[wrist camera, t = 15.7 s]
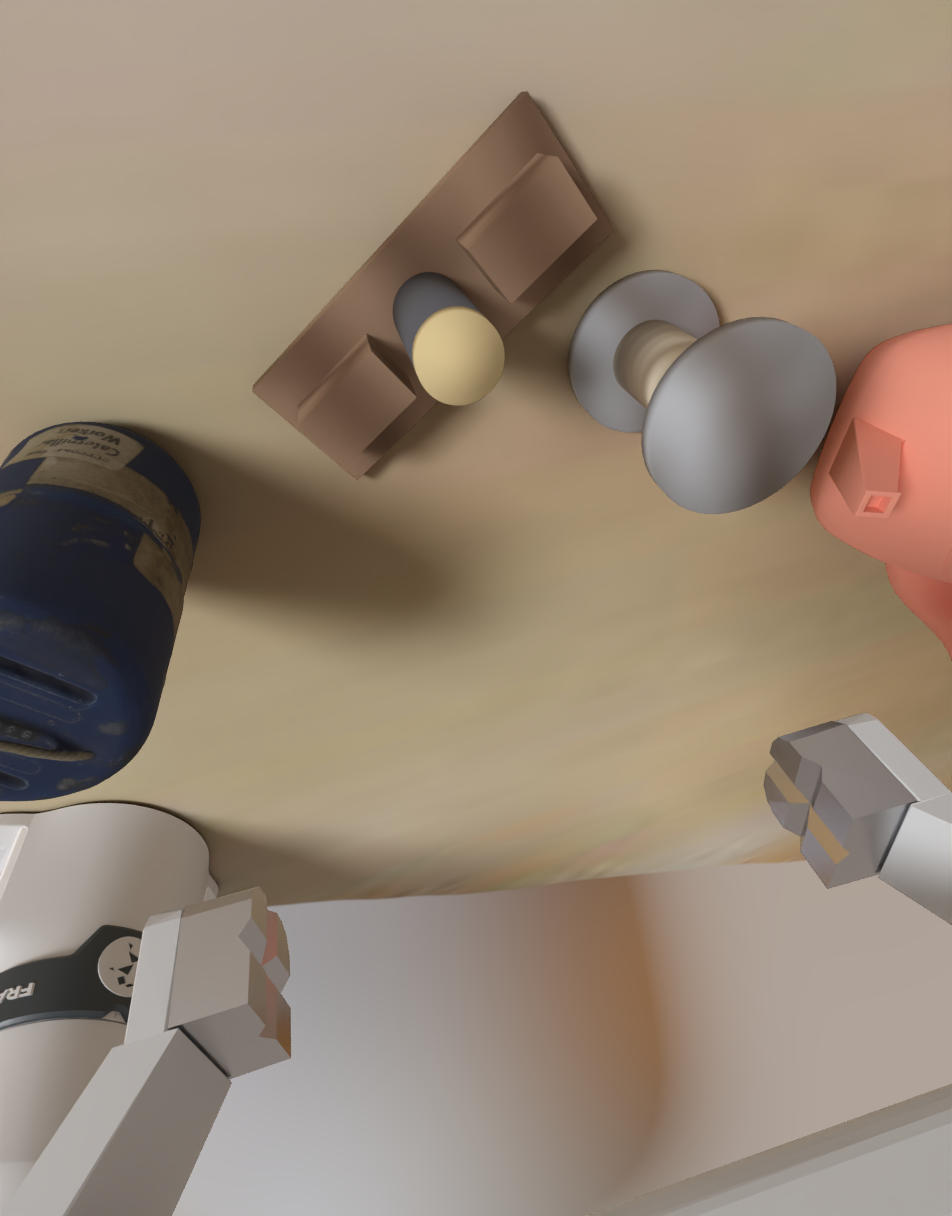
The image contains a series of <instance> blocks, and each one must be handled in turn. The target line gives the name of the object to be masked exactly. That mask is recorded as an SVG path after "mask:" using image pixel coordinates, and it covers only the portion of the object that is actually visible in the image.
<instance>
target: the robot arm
mask: <svg viewBox="0 0 952 1216" xmlns="http://www.w3.org/2000/svg"><path fill="white" fill-rule="evenodd" d="M770 754H771V755H772V757H773V758H774V759H775V761H774V763H773V764H772V765H771V766H770V767H769V768H768V769H767V770H766V772H765V779H764V789H765V793H766V797H767V801H768V803H769V805H770V807H771V809H772V811H773V813H774V815H775V816H776V818H777V819H778V821H779V822H780V824H781V825H782V826H783V827H784V828H785V829H787V830H789V831H791V832H793V833H795V834H797V835H799V836H800V837H801V843H800V852H801V853H802V854H803V856H804V857H805V859H806V860H807V861H808V863H809V864H810V866H811V867H812V868H813V870H814V871H815V872H816V874H817V875H818V877H819V878H820V879H821V881H822V882H823V883H824V885H825V886H826V888H827V889H829V888H832V887H836V886H839V885H843V884H846V883H850V882H853V881H857V880H860V879H864V878H867V877H871V876H874V875H878V874H879V876H878V878H880V879H881V880H882V881H884V882H886V883H887V884H889V885H890V886H892V887H893V888H895V889H896V890H898V891H900V892H901V893H903V894H904V895H906V896H907V897H909V898H911V899H912V900H914V901H915V902H917V903H918V904H920V905H922V906H923V907H925V908H926V909H928V910H929V911H931V912H932V913H934V914H936V915H937V916H939V917H940V918H942V919H943V920H945V921H946V922H948V923H949V924H951V925H952V791H950V790H949V789H948V788H947V787H946V786H945V785H944V784H943V783H942V782H941V781H940V780H939V779H938V778H937V777H936V776H935V775H934V774H933V773H932V772H931V771H930V770H929V769H928V768H927V767H926V766H925V765H924V764H923V763H922V762H921V761H920V760H919V759H918V758H917V757H916V756H915V755H914V754H912V753H911V752H910V751H909V750H908V749H907V748H906V747H905V746H904V745H903V744H902V743H901V742H900V741H899V740H898V739H897V738H896V737H895V736H894V735H893V734H892V733H891V732H890V731H889V730H888V729H887V728H886V727H885V726H884V725H883V724H882V723H881V722H880V721H879V720H878V719H877V718H876V717H874V716H872V715H870V714H868V713H860V714H856V715H853V716H849V717H846V718H843V719H840V720H836V721H830V722H827V723H823V724H820V725H817V726H813V727H810V728H807V729H804V730H800V731H797V732H794V733H791V734H787V735H784V736H781V737H778V738H777V739H776V740H774V741H773V742H772V746H771V750H770ZM217 895H218V886H217V884H216V882H215V881H214V880H213V878H212V877H211V876H210V874H209V851H208V848H207V845H206V843H205V841H204V840H203V838H202V837H201V836H200V834H199V833H198V832H197V831H196V830H194V829H193V828H192V827H191V826H190V825H188V824H187V823H185V822H184V821H182V820H180V819H178V818H176V817H174V816H172V815H169V814H167V813H164V812H161V811H158V810H155V809H151V808H147V807H142V806H137V805H130V804H119V803H93V804H82V805H76V806H70V807H65V808H61V809H57V810H53V811H49V812H44V813H37V814H0V1216H172V1214H173V1212H174V1210H175V1208H176V1205H177V1203H178V1201H179V1199H180V1197H181V1194H182V1192H183V1190H184V1188H185V1185H186V1183H187V1181H188V1179H189V1177H190V1174H191V1172H192V1170H193V1168H194V1165H195V1163H196V1161H197V1159H198V1156H199V1154H200V1152H201V1150H202V1148H203V1145H204V1143H205V1141H206V1139H207V1137H208V1134H209V1132H210V1130H211V1128H212V1126H213V1123H214V1121H215V1119H216V1117H217V1114H218V1112H219V1110H220V1108H221V1106H222V1103H223V1101H224V1099H225V1097H226V1094H227V1092H228V1090H229V1088H230V1086H231V1081H230V1080H229V1079H232V1078H235V1077H237V1076H241V1075H243V1074H246V1073H249V1072H252V1071H255V1070H258V1069H260V1068H264V1067H266V1066H269V1065H272V1064H275V1063H278V1062H281V1061H284V1060H287V1059H290V1058H291V1016H290V1014H291V1012H290V1007H289V1005H288V1004H287V1002H286V1001H285V999H284V998H283V996H282V995H281V991H282V990H283V988H284V986H285V984H286V982H287V981H288V979H289V977H290V960H289V950H288V944H287V937H286V933H285V930H284V927H283V924H282V921H281V920H280V918H279V916H278V915H277V913H275V912H271V911H268V910H267V896H266V895H265V894H264V892H263V891H262V889H261V888H260V886H257V887H254V888H250V889H247V890H243V891H239V892H236V893H232V894H229V895H225V896H221V897H218V898H217ZM585 1216H952V1084H950V1085H947V1086H944V1087H941V1088H938V1089H936V1090H933V1091H930V1092H927V1093H925V1094H922V1095H919V1096H916V1097H913V1098H911V1099H908V1100H905V1101H902V1102H900V1103H897V1104H894V1105H891V1106H888V1107H886V1108H883V1109H880V1110H878V1111H875V1112H872V1113H869V1114H866V1115H863V1116H861V1117H858V1118H855V1119H852V1120H849V1121H847V1122H844V1123H841V1124H838V1125H836V1126H833V1127H830V1128H827V1129H825V1130H822V1131H819V1132H816V1133H813V1134H811V1135H808V1136H805V1137H802V1138H800V1139H797V1140H794V1141H791V1142H789V1143H786V1144H783V1145H780V1146H777V1147H774V1148H772V1149H769V1150H766V1151H763V1152H761V1153H758V1154H755V1155H752V1156H750V1157H747V1158H744V1159H741V1160H738V1161H736V1162H733V1163H730V1164H727V1165H724V1166H722V1167H719V1168H716V1169H713V1170H711V1171H708V1172H705V1173H702V1174H699V1175H697V1176H694V1177H691V1178H688V1179H686V1180H683V1181H680V1182H677V1183H675V1184H672V1185H669V1186H666V1187H663V1188H660V1189H658V1190H655V1191H652V1192H650V1193H647V1194H644V1195H641V1196H638V1197H635V1198H633V1199H630V1200H627V1201H624V1202H621V1203H619V1204H616V1205H613V1206H610V1207H608V1208H605V1209H602V1210H599V1211H596V1212H594V1213H591V1214H588V1215H585Z"/></svg>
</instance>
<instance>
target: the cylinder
mask: <svg viewBox="0 0 952 1216" xmlns="http://www.w3.org/2000/svg"><path fill="white" fill-rule="evenodd" d="M393 320H394V324H395V326H396V329H397V331H398V333H399V336H400V338H401V340H402V342H403V345H404V347H405V349H406V351H407V354H408V356H409V358H410V360H411V362H412V365H413V367H414V369H415V371H416V374H417V376H418V378H419V380H420V382H421V384H422V386H423V387H424V389H425V390H426V391H427V392H428V393H429V394H430V395H431V396H432V397H433V398H435V399H436V400H438V401H440V402H442V403H445V404H449V405H459V406H460V405H467V404H471V403H474V402H476V401H478V400H480V399H482V398H483V397H485V396H486V395H487V394H488V393H490V392H491V390H492V389H493V388H494V387H495V386H496V384H497V383H498V381H499V379H500V377H501V374H502V372H503V368H504V362H505V352H504V346H503V342H502V339H501V337H500V335H499V333H498V332H497V330H496V329H495V327H494V326H493V325H492V324H491V323H490V322H489V321H488V320H487V318H486V317H485V316H484V315H483V314H482V313H481V312H480V311H479V310H478V308H477V307H476V306H475V305H474V304H473V303H472V302H471V301H470V300H469V298H468V297H467V296H466V295H465V294H464V293H463V292H462V291H461V289H460V288H459V287H458V286H457V285H456V284H455V283H454V282H453V281H452V280H451V279H449V278H448V277H446V276H444V275H442V274H440V273H435V272H423V273H419V274H416V275H414V276H412V277H410V278H409V279H408V280H406V281H405V282H404V283H403V284H402V286H401V287H400V288H399V290H398V292H397V294H396V296H395V299H394V303H393Z"/></svg>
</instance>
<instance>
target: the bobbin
mask: <svg viewBox="0 0 952 1216" xmlns="http://www.w3.org/2000/svg"><path fill="white" fill-rule="evenodd" d="M568 365H569V377H570V382H571V386H572V389H573V392H574V394H575V396H576V398H577V400H578V401H579V402H580V404H581V405H582V407H583V408H584V409H585V410H586V411H587V412H588V413H589V414H590V415H591V416H592V417H593V418H594V419H595V420H596V421H598V422H599V423H600V424H602V425H604V426H606V427H608V428H610V429H613V430H616V431H621V432H642V453H643V458H644V462H645V465H646V468H647V470H648V472H649V474H650V476H651V477H652V479H653V480H654V482H655V483H656V484H657V485H658V486H659V487H660V488H661V490H662V491H663V492H664V493H665V494H666V495H667V496H668V497H669V498H670V499H671V500H672V501H674V502H675V503H676V504H678V505H679V506H681V507H683V508H685V509H688V510H691V511H694V512H698V513H704V514H722V513H729V512H734V511H738V510H741V509H744V508H747V507H750V506H752V505H754V504H756V503H758V502H761V501H762V500H764V499H766V498H767V497H769V496H771V495H772V494H774V493H775V492H777V491H778V490H779V489H781V488H782V487H783V486H784V485H786V484H787V483H788V482H789V481H790V480H792V479H793V478H794V477H795V476H796V475H797V473H798V472H799V471H800V470H801V469H802V468H803V467H804V466H805V465H806V463H807V462H808V461H809V460H810V458H811V457H812V455H813V454H814V452H815V451H816V450H817V448H818V446H819V444H820V443H821V441H822V439H823V437H824V435H825V433H826V431H827V428H828V426H829V423H830V420H831V417H832V414H833V410H834V405H835V400H836V375H835V370H834V365H833V363H832V360H831V357H830V355H829V353H828V352H827V350H826V348H825V347H824V346H823V344H822V343H821V342H820V341H819V340H818V339H817V338H816V337H815V336H813V335H812V334H811V333H809V332H808V331H806V330H803V329H801V328H799V327H797V326H795V325H793V324H790V323H788V322H786V321H783V320H779V319H776V318H769V317H750V318H745V319H740V320H736V321H733V322H730V323H727V324H724V325H722V326H720V323H719V318H718V314H717V311H716V308H715V306H714V304H713V302H712V300H711V299H710V297H709V296H708V294H707V293H706V292H705V291H704V290H703V289H702V288H701V287H700V286H699V285H697V284H696V283H694V282H693V281H691V280H689V279H687V278H685V277H683V276H680V275H678V274H676V273H672V272H669V271H663V270H647V271H641V272H637V273H634V274H631V275H628V276H626V277H624V278H622V279H620V280H618V281H616V282H615V283H613V284H612V285H610V286H609V287H608V288H606V289H605V290H604V291H603V292H602V293H601V294H599V296H598V297H597V298H596V299H595V300H594V301H593V302H592V303H591V304H590V306H589V307H588V308H587V310H586V311H585V313H584V314H583V316H582V318H581V319H580V321H579V323H578V326H577V328H576V330H575V332H574V336H573V339H572V342H571V346H570V351H569V362H568Z"/></svg>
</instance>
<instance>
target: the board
mask: <svg viewBox="0 0 952 1216" xmlns="http://www.w3.org/2000/svg"><path fill="white" fill-rule="evenodd" d="M613 231H614V229H613V227H612V226H611V224H610V222H609V221H608V219H607V218H606V216H605V214H604V213H603V211H602V210H601V208H600V206H599V205H598V203H597V202H596V200H595V198H594V197H593V195H592V194H591V192H590V190H589V189H588V187H587V186H586V184H585V182H584V181H583V179H582V178H581V176H580V175H579V173H578V171H577V170H576V168H575V167H574V165H573V163H572V162H571V160H570V159H569V157H568V155H567V154H566V152H565V151H564V149H563V147H562V146H561V144H560V143H559V141H558V139H557V138H556V136H555V135H554V133H553V131H552V130H551V128H550V127H549V125H548V124H547V122H546V120H545V119H544V117H543V116H542V114H541V112H540V111H539V109H538V108H537V106H536V104H535V103H534V101H533V100H532V98H531V96H530V95H529V93H528V92H521V93H520V94H519V95H518V96H517V97H516V98H515V99H514V101H513V102H512V103H511V104H510V105H509V106H508V107H507V108H506V109H505V110H504V111H503V113H502V114H501V115H500V116H499V117H498V118H497V119H496V120H495V121H494V122H493V124H492V125H491V126H490V127H489V128H488V129H487V130H486V131H485V132H484V133H483V134H482V136H481V137H480V138H479V139H478V140H477V141H476V142H475V143H474V144H473V145H472V146H471V148H470V149H469V150H468V151H467V152H466V153H465V154H464V155H463V156H462V157H461V159H460V160H459V161H458V162H457V163H456V164H455V165H454V166H453V167H452V168H451V169H450V171H449V172H448V173H447V174H446V175H445V176H444V177H443V178H442V179H441V180H440V182H439V183H438V184H437V185H436V186H435V187H434V188H433V189H432V190H431V191H430V192H429V194H428V195H427V196H426V197H425V198H424V199H423V200H422V201H421V202H420V203H419V204H418V206H417V207H416V208H415V209H414V210H413V211H412V212H411V213H410V214H409V215H408V217H407V218H406V219H405V220H404V221H403V222H402V223H401V224H400V225H399V226H398V227H397V229H396V230H395V231H394V232H393V233H392V234H391V235H390V236H389V237H388V238H387V240H386V241H385V242H384V243H383V244H382V245H381V246H380V247H379V248H378V249H377V250H376V252H375V253H374V254H373V255H372V256H371V257H370V258H369V259H368V260H367V261H366V263H365V264H364V265H363V266H362V267H361V268H360V269H359V270H358V271H357V272H356V273H355V275H354V276H353V277H352V278H351V279H350V280H349V281H348V282H347V283H346V284H345V285H344V287H343V288H342V289H341V290H340V291H339V292H338V293H337V294H336V295H335V296H334V298H333V299H332V300H331V301H330V302H329V303H328V304H327V305H326V306H325V307H324V308H323V310H322V311H321V312H320V313H319V314H318V315H317V316H316V317H315V318H314V319H313V321H312V322H311V323H310V324H309V325H308V326H307V327H306V328H305V329H304V330H303V331H302V333H301V334H300V335H299V336H298V337H297V338H296V339H295V340H294V341H293V342H292V343H291V345H290V346H289V347H288V348H287V349H286V350H285V351H284V352H283V353H282V354H281V356H280V357H279V358H278V359H277V360H276V361H275V362H274V363H273V364H272V365H271V366H270V368H269V369H268V370H267V371H266V372H265V373H264V374H263V375H262V376H261V377H260V379H259V380H258V381H257V382H256V383H255V384H254V385H253V391H252V392H253V393H255V394H256V395H257V396H258V397H259V398H260V399H262V400H263V401H264V402H265V403H266V404H268V405H269V406H270V407H271V408H272V409H273V410H275V411H276V412H277V413H278V414H279V415H281V416H282V417H283V418H284V419H285V420H286V421H288V422H289V423H290V424H291V425H292V426H294V427H295V428H296V429H297V430H298V431H299V432H301V433H302V434H303V435H304V436H305V437H307V438H308V439H309V440H310V441H311V442H312V443H314V444H315V445H316V446H317V447H318V448H319V449H321V450H322V451H323V452H324V453H325V454H327V455H328V456H329V457H330V458H331V459H332V460H334V461H335V462H336V463H337V464H338V465H340V466H341V467H342V468H343V469H344V470H345V471H347V472H348V473H349V474H350V475H351V476H353V477H354V478H355V479H356V480H358V479H359V478H360V477H361V476H362V475H363V474H364V473H365V472H366V471H367V470H368V469H369V468H370V467H371V466H373V465H374V464H375V463H376V462H377V461H378V460H379V459H380V458H381V457H382V456H383V455H384V454H385V453H386V452H387V451H388V450H389V449H390V448H391V447H392V446H393V445H394V444H395V443H396V442H397V441H398V440H399V439H400V438H401V437H402V436H403V435H404V434H405V433H406V432H407V431H408V430H409V429H411V428H412V427H413V426H414V425H415V424H416V423H417V422H418V421H419V420H420V419H421V418H422V417H423V416H424V415H425V414H426V413H427V412H428V411H429V410H430V409H431V408H432V407H433V406H434V405H435V404H436V403H437V402H438V400H436V399H435V398H433V397H432V396H431V395H430V394H429V393H428V392H427V391H426V390H425V389H424V387H423V386H422V384H421V382H420V380H419V378H418V376H417V374H416V371H415V369H414V367H413V365H412V362H411V360H410V358H409V356H408V354H407V351H406V349H405V347H404V345H403V342H402V340H401V338H400V336H399V333H398V331H397V329H396V326H395V324H394V320H393V303H394V299H395V296H396V294H397V292H398V290H399V288H400V287H401V286H402V284H403V283H404V282H405V281H406V280H408V279H409V278H410V277H412V276H414V275H416V274H419V273H423V272H435V273H440V274H442V275H444V276H446V277H448V278H449V279H451V280H452V281H453V282H454V283H455V284H456V285H457V286H458V287H459V288H460V289H461V291H462V292H463V293H464V294H465V295H466V296H467V297H468V298H469V300H470V301H471V302H472V303H473V304H474V305H475V306H476V307H477V308H478V310H479V311H480V312H481V313H482V314H483V315H484V316H485V317H486V318H487V320H488V321H489V322H490V323H491V324H492V325H493V326H494V327H495V329H496V330H497V332H498V333H499V335H500V337H501V339H503V338H504V337H505V336H506V335H507V334H508V333H509V332H510V331H511V330H512V329H513V328H514V327H515V326H516V325H517V324H518V323H519V322H520V321H521V320H522V319H524V318H525V317H526V316H527V315H528V314H529V313H530V312H531V311H532V310H533V309H534V308H535V307H536V306H537V305H538V304H539V303H540V302H541V301H542V300H543V299H544V298H545V297H546V296H547V295H548V294H549V293H550V292H551V291H552V290H553V289H554V288H555V287H556V286H557V285H558V284H559V283H560V282H562V281H563V280H564V279H565V278H566V277H567V276H568V275H569V274H570V273H571V272H572V271H573V270H574V269H575V268H576V267H577V266H578V265H579V264H580V263H581V262H582V261H583V260H584V259H585V258H586V257H587V256H588V255H589V254H590V253H591V252H592V251H593V250H594V249H595V248H596V247H597V246H598V245H600V244H601V243H602V242H603V241H604V240H605V239H606V238H607V237H608V236H609V235H610V234H611V233H612V232H613Z"/></svg>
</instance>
